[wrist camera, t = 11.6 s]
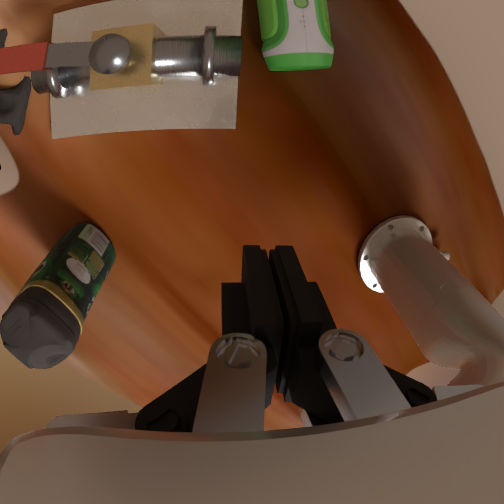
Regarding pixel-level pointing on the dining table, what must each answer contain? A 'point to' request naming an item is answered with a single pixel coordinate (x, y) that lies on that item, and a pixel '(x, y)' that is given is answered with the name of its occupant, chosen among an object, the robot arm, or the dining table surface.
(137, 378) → the dining table surface
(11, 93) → the cloth
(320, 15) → the speaker
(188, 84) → the valve pipe
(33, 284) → the coffee jar
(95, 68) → the lever
